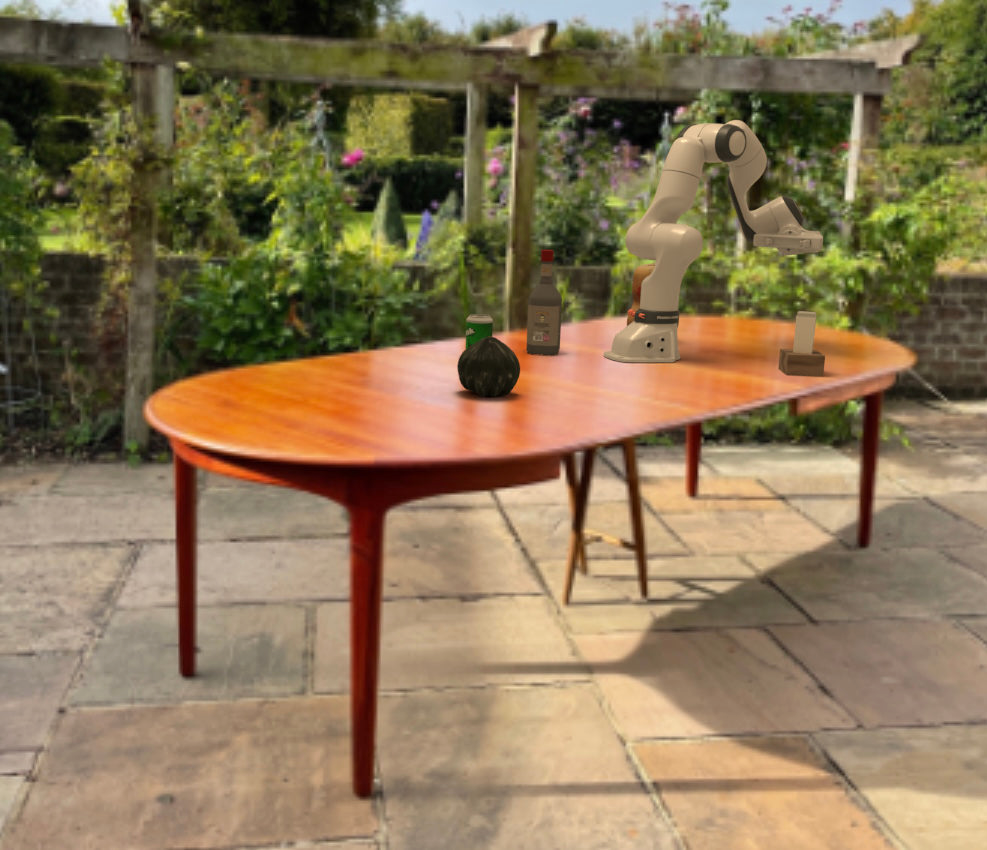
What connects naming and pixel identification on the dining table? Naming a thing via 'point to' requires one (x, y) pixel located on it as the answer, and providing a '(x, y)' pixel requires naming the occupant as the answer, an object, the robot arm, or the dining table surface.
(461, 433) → the dining table surface
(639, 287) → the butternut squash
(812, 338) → the tall cream box
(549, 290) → the liquor
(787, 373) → the walnut block
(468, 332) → the soda can
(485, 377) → the squash
